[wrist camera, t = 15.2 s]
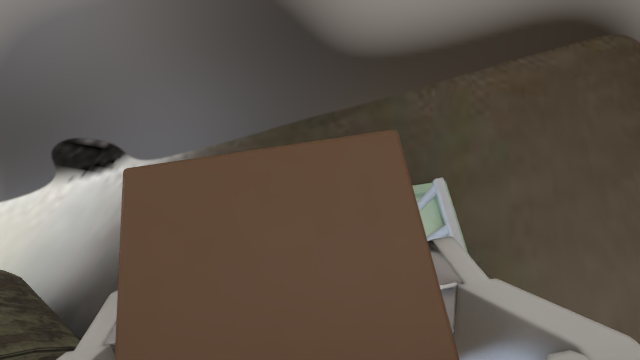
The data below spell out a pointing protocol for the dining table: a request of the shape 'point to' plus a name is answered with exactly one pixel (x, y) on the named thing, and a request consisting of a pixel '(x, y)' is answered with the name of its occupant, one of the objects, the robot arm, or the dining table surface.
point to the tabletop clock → (29, 324)
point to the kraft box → (279, 257)
